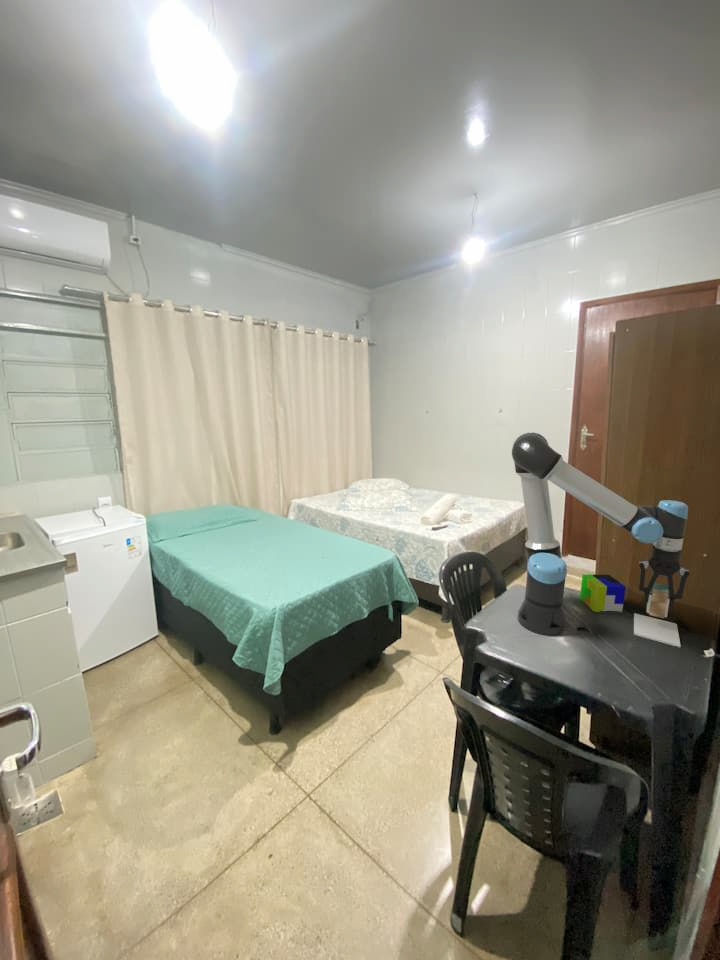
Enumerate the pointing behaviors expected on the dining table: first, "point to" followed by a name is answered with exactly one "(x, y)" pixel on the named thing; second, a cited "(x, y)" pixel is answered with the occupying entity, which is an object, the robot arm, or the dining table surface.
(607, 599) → the puzzle toy
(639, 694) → the dining table surface
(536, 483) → the robot arm
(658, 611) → the block
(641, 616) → the mat
